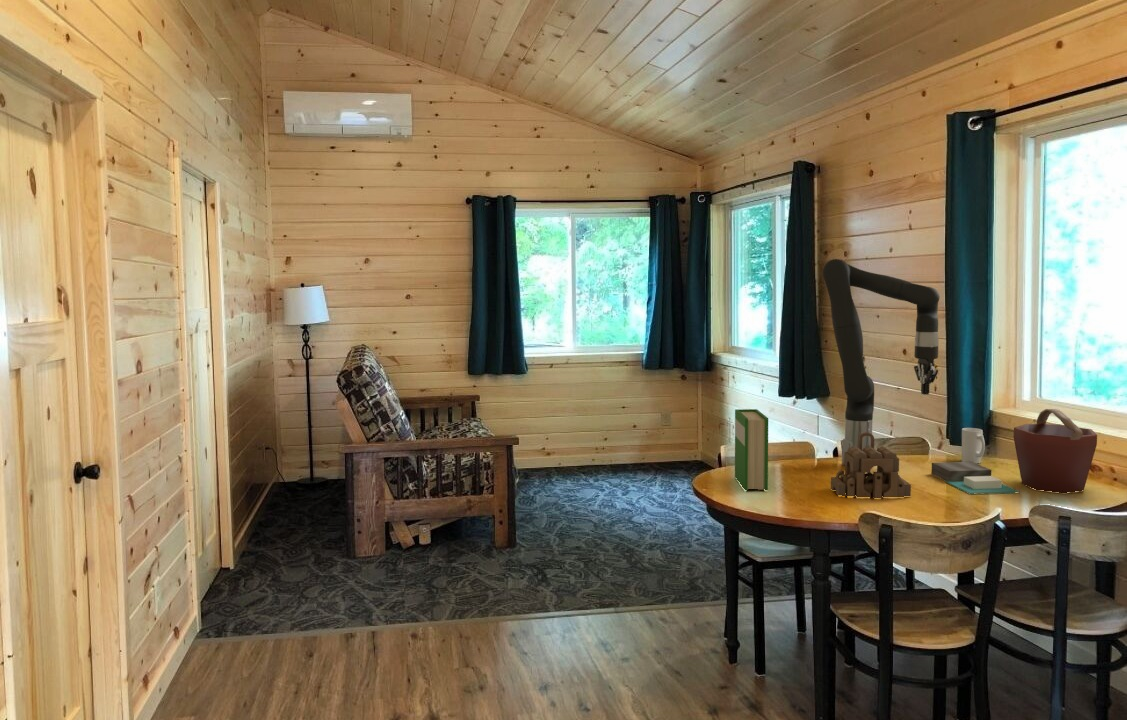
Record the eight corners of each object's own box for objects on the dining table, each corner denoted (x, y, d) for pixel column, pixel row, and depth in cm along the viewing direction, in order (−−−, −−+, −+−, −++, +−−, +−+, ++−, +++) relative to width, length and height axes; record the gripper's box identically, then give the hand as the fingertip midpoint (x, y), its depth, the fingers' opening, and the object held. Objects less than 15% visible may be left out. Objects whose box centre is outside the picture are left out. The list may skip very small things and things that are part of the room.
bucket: (1098, 500, 242) (1102, 418, 239) (1015, 493, 251) (1018, 414, 249) (1084, 480, 264) (1088, 406, 261) (1008, 475, 273) (1011, 402, 271)
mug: (956, 460, 296) (957, 428, 294) (973, 459, 297) (974, 427, 295) (974, 466, 286) (976, 433, 284) (991, 465, 287) (993, 432, 285)
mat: (969, 494, 250) (969, 492, 250) (945, 482, 265) (945, 480, 265) (1019, 493, 251) (1019, 491, 251) (992, 480, 266) (992, 479, 266)
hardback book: (767, 491, 258) (768, 418, 255) (744, 492, 258) (745, 418, 256) (756, 478, 275) (756, 409, 273) (734, 478, 276) (735, 409, 273)
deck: (949, 483, 264) (949, 471, 264) (931, 474, 276) (931, 462, 276) (991, 481, 265) (991, 469, 264) (971, 472, 277) (971, 461, 276)
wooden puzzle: (840, 499, 248) (841, 440, 246) (828, 487, 262) (829, 431, 260) (913, 500, 246) (915, 440, 244) (897, 487, 261) (898, 431, 259)
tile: (963, 476, 260) (963, 484, 261) (974, 481, 254) (974, 489, 255) (990, 475, 261) (990, 483, 261) (1001, 480, 255) (1001, 488, 255)
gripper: (906, 343, 284) (905, 391, 286) (925, 346, 271) (923, 397, 273) (927, 342, 284) (926, 391, 286) (947, 346, 271) (945, 396, 273)
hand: (925, 394), depth 279 cm, fingers closed
